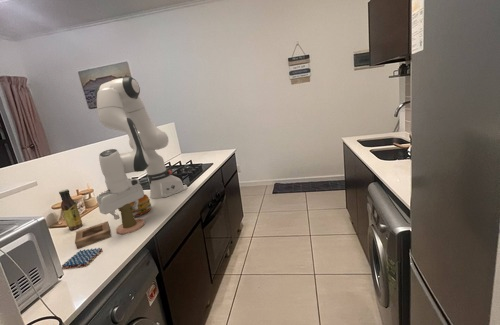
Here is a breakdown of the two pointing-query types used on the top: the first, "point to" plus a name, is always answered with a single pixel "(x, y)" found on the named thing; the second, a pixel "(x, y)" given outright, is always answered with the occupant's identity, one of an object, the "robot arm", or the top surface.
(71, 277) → the top surface
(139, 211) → the burger
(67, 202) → the sauce bottle
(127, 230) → the saucer
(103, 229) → the brown wooden tray
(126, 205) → the cork
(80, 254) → the woven mat
